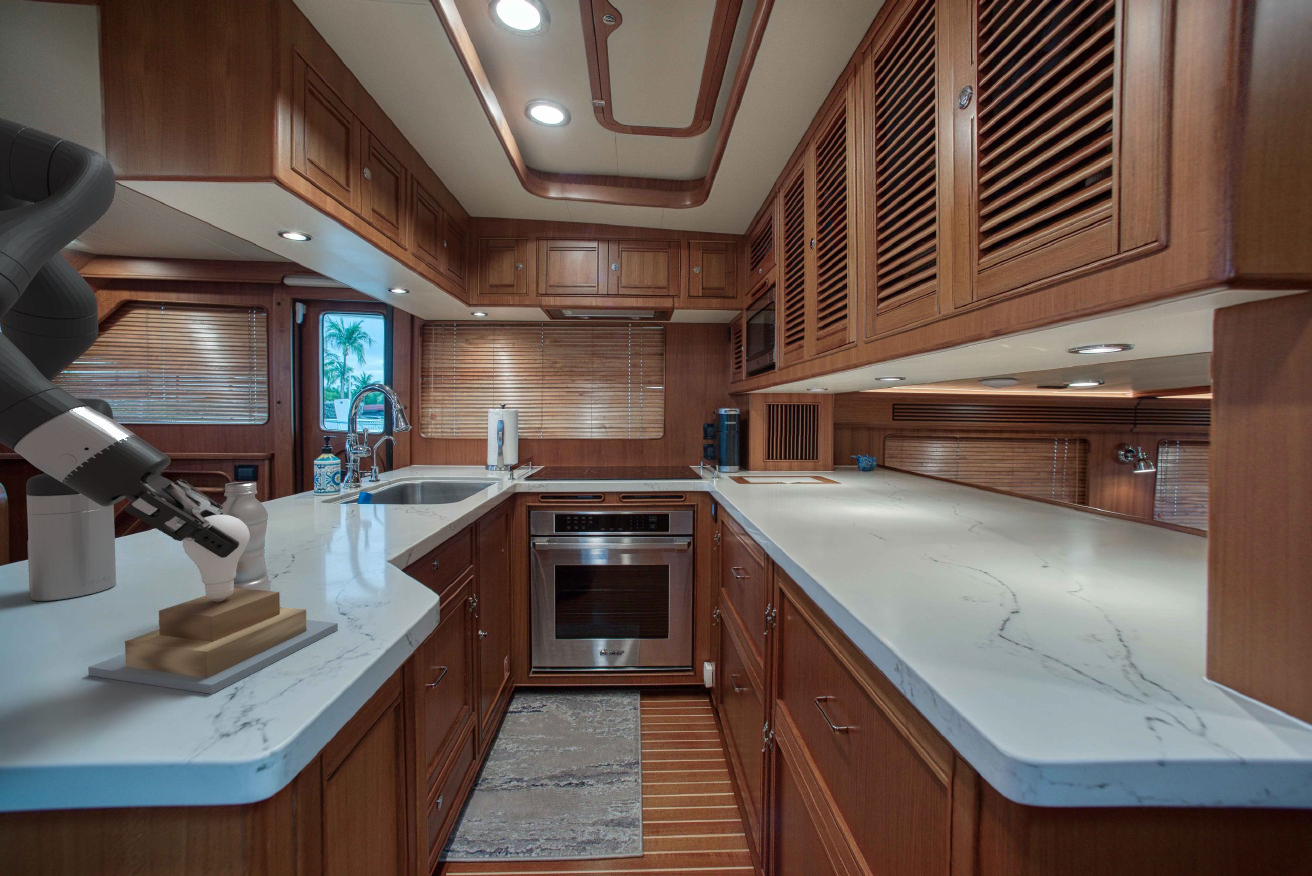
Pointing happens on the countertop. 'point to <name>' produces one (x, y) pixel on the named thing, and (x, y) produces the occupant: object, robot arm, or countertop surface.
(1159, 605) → the countertop surface
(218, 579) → the lightbulb
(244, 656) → the block tower
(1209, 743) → the countertop surface
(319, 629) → the slate board
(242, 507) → the plastic bottle
